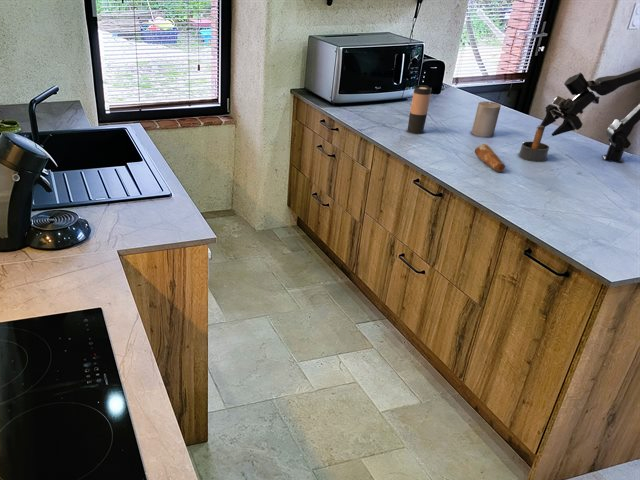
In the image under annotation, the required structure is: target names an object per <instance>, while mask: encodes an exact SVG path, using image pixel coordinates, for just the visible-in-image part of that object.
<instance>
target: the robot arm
mask: <svg viewBox="0 0 640 480" xmlns="http://www.w3.org/2000/svg"><path fill="white" fill-rule="evenodd" d="M638 81H640V67H638V68H634V69H631V70H628V71H626V72H623V73H620V74H616V75H606V76H600V77H597V78H596V79H593V80H587V79H586V78H585V76H584V74H583V73H582V72H579V73H577V74H574V75H572V76H569V77H568V78H567V79H566V80H565V82H564V83H563V85H564V86H565V88H566V89H567V90H568V91H569V93H570V94H571V96H575V97H574V98H573V99H572V98H569V97H568V98H563V97H561V96H560V95H557V96H556V97H555V98H554V100H553V102H552V103H550V104H548V105H546V106H545V108H544V109H545V116H544V118H543V120H542V121H541V122H540V124H539V125H541V126H545V128H546V127H548V126H549V125H551V124H553V123H555V122H556V121H557V120H558V119H562V120H563V121H562V123H561V124H560V125H559V126H558V127H557V128H556V129H555V130H554V131H553V132H552V133H551V136H552V137H554V136H558V135H561V134H564V133H568V132H572V131H579V130H580V129H581V128H582V127H583V122H582V121H581V119H580V117H579V116H578V115H579V114H580V115H582V114H583V113H584V111H583V110H585V109H586V108H587V107H588V106H590V105H591V104H595V105H599V104H600V96H601V97H602V96H607V95H609V94H610V93H613V92H615V91H616V90H618V89H620V88H621V87H623V86H625V85H629V84H631V83H635V82H638ZM595 93H596V94H597V95H599V96H597V95H596V94H595ZM638 122H640V103H638V105H636V107H635V108H633V109H632V110H631V111H630V112H629V113H628V114H627V115H626V116H625V117H624V118H622V119H619V118H616V119H614V121H613V122H612V123H611V124H610V125H608V128H607V130H606V137H607V138H608V142H610V143H609V146H608V147H607V148H608V149H607V151H606V154H603V159H604V161H608V162H614V163H615V162H616V163H623V159H622V157H623V155H624V152H625V149H628V148H629V147H630V146H631V145H632V143H631V141H630V140H629V139H628V137H629V136H630V135H631V133H632V131H633V129H634V128H635V126H636V125H637V124H638Z"/></svg>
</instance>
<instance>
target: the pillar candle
mask: <svg viewBox="0 0 640 480" xmlns="http://www.w3.org/2000/svg"><path fill="white" fill-rule="evenodd" d="M501 106H502V104H500V103H498V102H494V101H492V100H491V101H486V100H485V101H479V102H478V104H477V107H476V112H475V116H474V119H473V120H474V121H473V125H472V129H471V134H472V135H473V136H475V137H480V138H481V137H482V138H491V137H494V135H495V132H496V127H497V123H498V118H499V114H500V110H501Z"/></svg>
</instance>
